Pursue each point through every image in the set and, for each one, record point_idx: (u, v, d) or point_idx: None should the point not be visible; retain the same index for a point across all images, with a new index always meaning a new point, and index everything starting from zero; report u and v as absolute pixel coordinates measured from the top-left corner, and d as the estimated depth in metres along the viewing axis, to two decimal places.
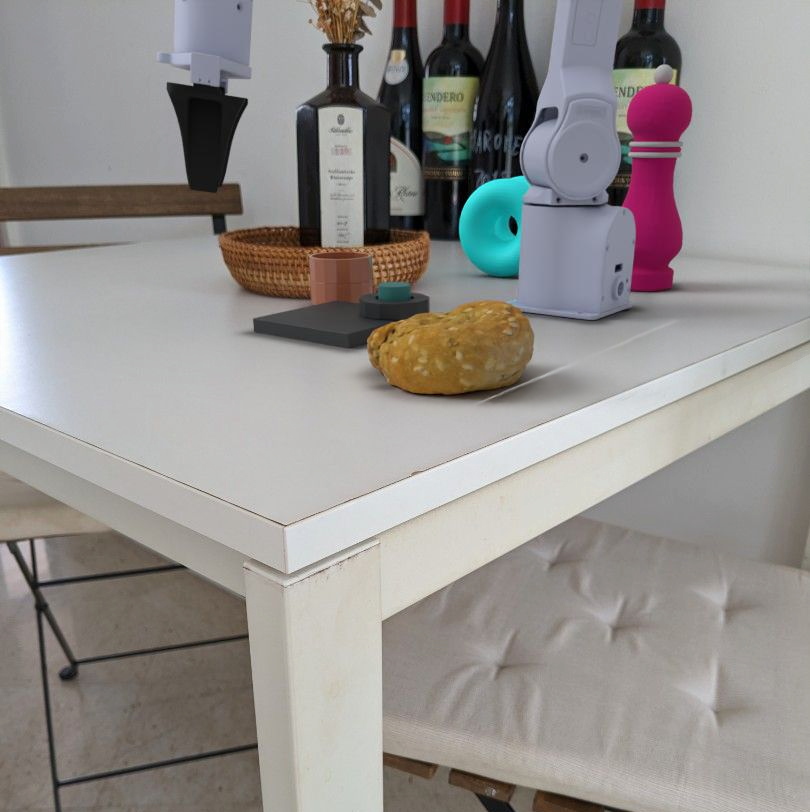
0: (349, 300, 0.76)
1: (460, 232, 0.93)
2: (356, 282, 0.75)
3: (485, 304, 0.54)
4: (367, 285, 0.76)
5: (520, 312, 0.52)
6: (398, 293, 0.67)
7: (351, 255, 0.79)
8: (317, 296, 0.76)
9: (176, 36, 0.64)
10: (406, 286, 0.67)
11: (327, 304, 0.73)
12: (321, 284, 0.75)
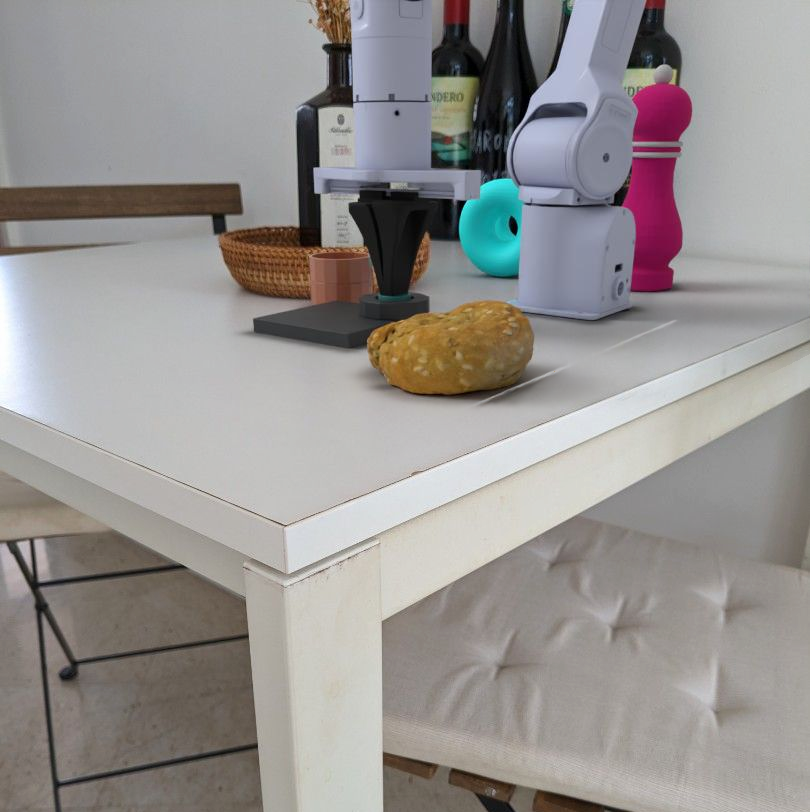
0: (349, 300, 0.76)
1: (460, 232, 0.93)
2: (356, 282, 0.75)
3: (485, 304, 0.54)
4: (367, 285, 0.76)
5: (520, 312, 0.52)
6: None
7: (351, 255, 0.79)
8: (317, 296, 0.76)
9: (383, 152, 0.61)
10: (406, 296, 0.68)
11: (327, 304, 0.73)
12: (321, 284, 0.75)
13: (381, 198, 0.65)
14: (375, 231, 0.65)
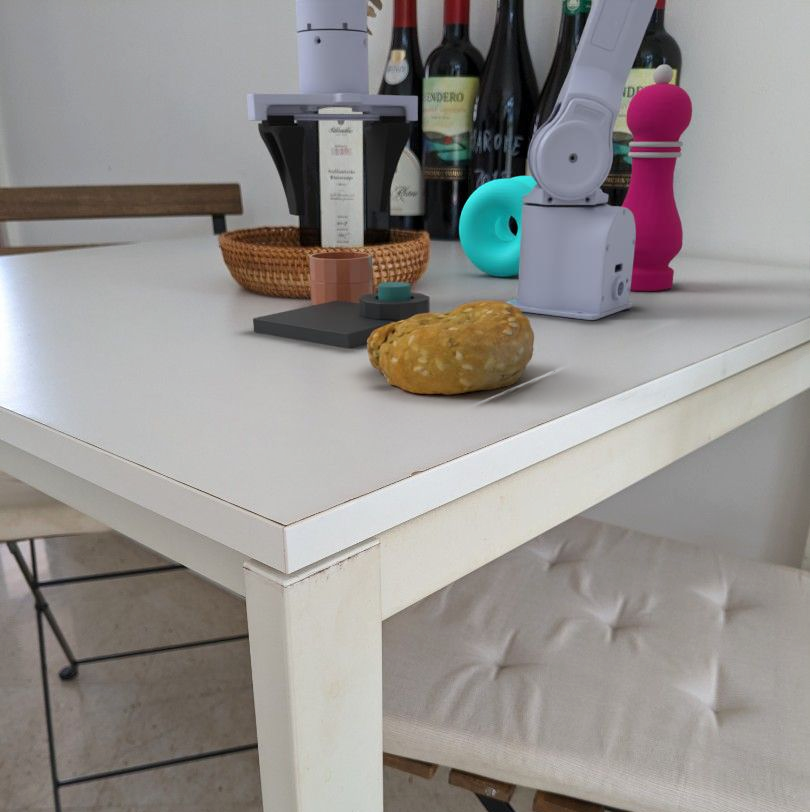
0: (349, 300, 0.76)
1: (460, 232, 0.93)
2: (356, 282, 0.75)
3: (485, 304, 0.54)
4: (367, 285, 0.76)
5: (520, 312, 0.52)
6: (398, 293, 0.67)
7: (351, 255, 0.79)
8: (317, 296, 0.76)
9: (359, 77, 0.69)
10: (406, 286, 0.67)
11: (327, 304, 0.73)
12: (321, 284, 0.75)
13: (294, 122, 0.70)
14: (302, 152, 0.70)
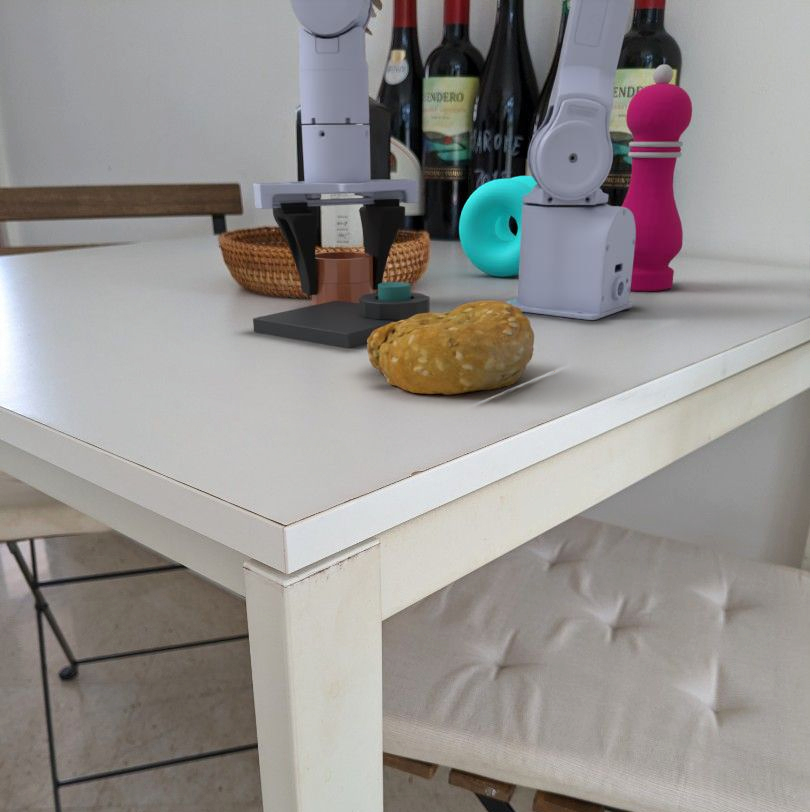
0: (349, 300, 0.76)
1: (460, 232, 0.93)
2: (356, 282, 0.75)
3: (485, 304, 0.54)
4: (367, 285, 0.76)
5: (520, 312, 0.52)
6: (398, 293, 0.67)
7: (351, 255, 0.79)
8: (317, 296, 0.76)
9: (361, 167, 0.72)
10: (406, 286, 0.67)
11: (327, 304, 0.73)
12: (321, 284, 0.75)
13: (307, 208, 0.73)
14: (315, 238, 0.73)
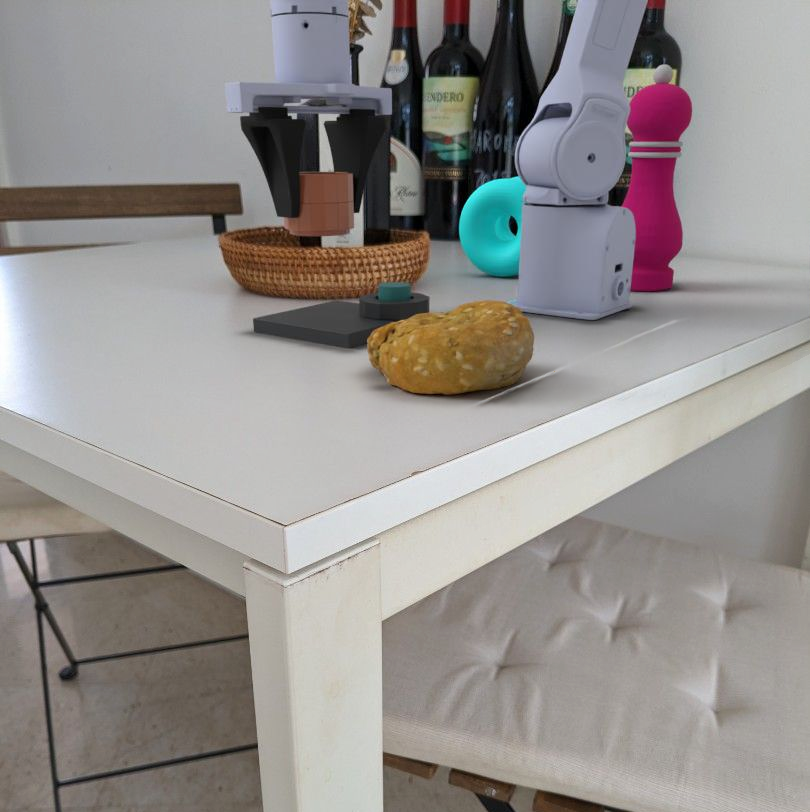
0: (337, 222, 0.67)
1: (460, 232, 0.93)
2: (344, 201, 0.67)
3: (485, 304, 0.54)
4: (352, 206, 0.68)
5: (520, 312, 0.52)
6: (398, 293, 0.67)
7: None
8: (299, 219, 0.67)
9: (346, 67, 0.64)
10: (406, 286, 0.67)
11: (327, 304, 0.73)
12: (305, 204, 0.66)
13: None
14: (300, 148, 0.64)
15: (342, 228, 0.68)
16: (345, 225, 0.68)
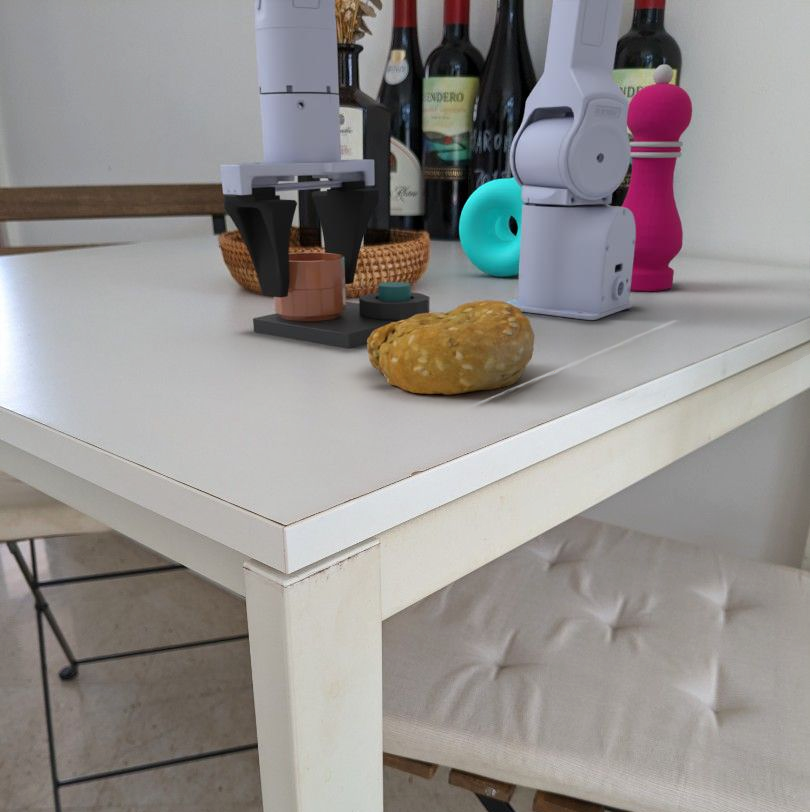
0: (333, 306, 0.66)
1: (460, 232, 0.93)
2: (338, 285, 0.66)
3: (485, 304, 0.54)
4: (344, 288, 0.67)
5: (520, 312, 0.52)
6: (398, 293, 0.67)
7: (306, 256, 0.69)
8: (294, 305, 0.66)
9: (339, 144, 0.63)
10: (406, 286, 0.67)
11: None
12: (300, 291, 0.65)
13: (275, 194, 0.61)
14: (290, 228, 0.62)
15: (337, 312, 0.67)
16: (339, 309, 0.67)
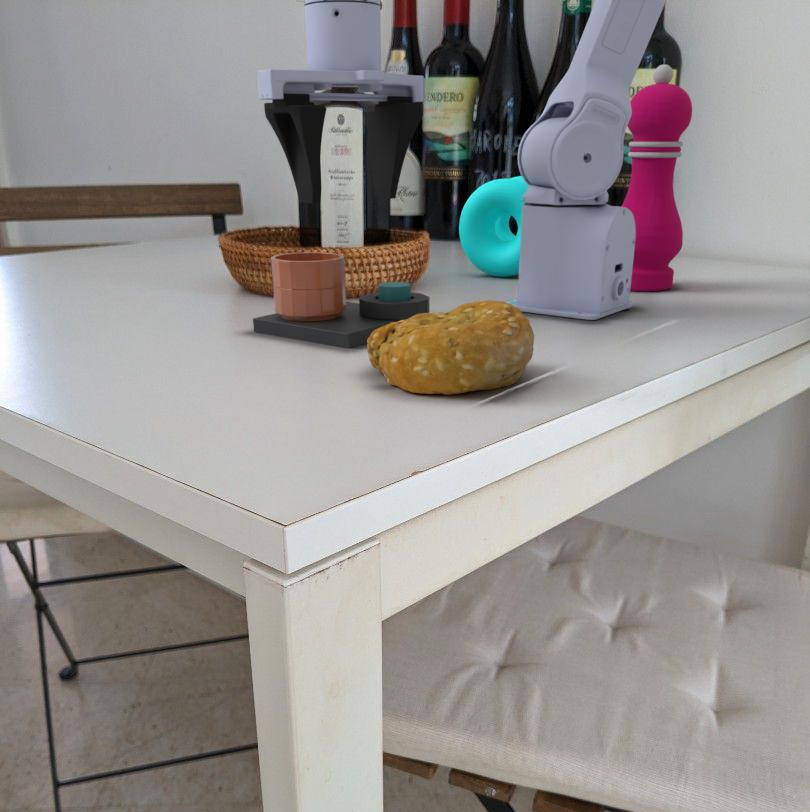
0: (333, 306, 0.66)
1: (460, 232, 0.93)
2: (338, 285, 0.66)
3: (485, 304, 0.54)
4: (344, 288, 0.67)
5: (520, 312, 0.52)
6: (398, 293, 0.67)
7: (306, 256, 0.69)
8: (294, 305, 0.66)
9: (376, 54, 0.65)
10: (406, 286, 0.67)
11: None
12: (300, 291, 0.65)
13: None
14: (321, 134, 0.65)
15: (337, 312, 0.67)
16: (339, 309, 0.67)
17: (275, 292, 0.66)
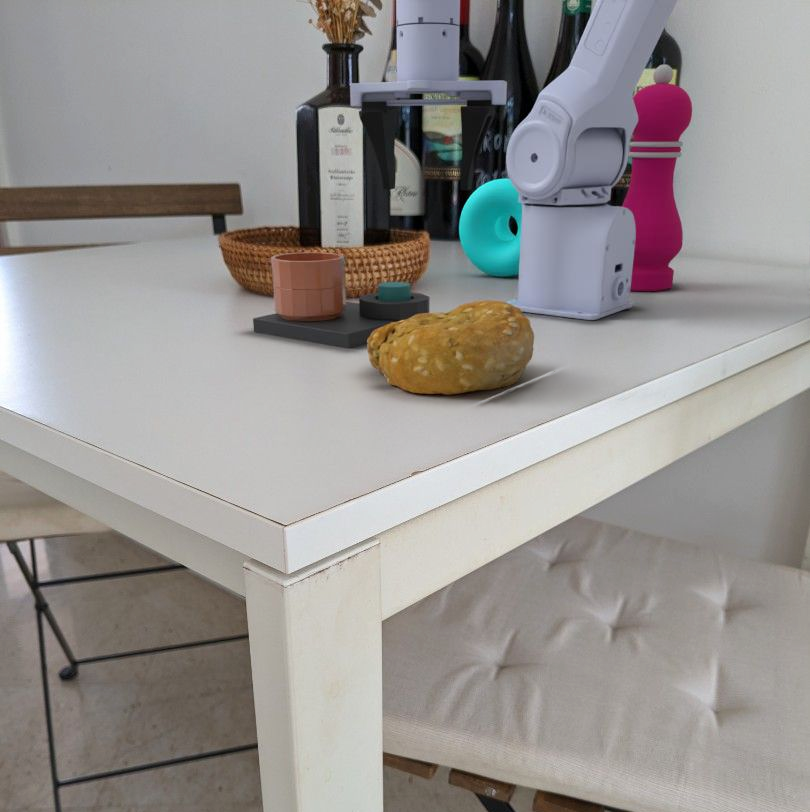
0: (333, 306, 0.66)
1: (460, 232, 0.93)
2: (338, 285, 0.66)
3: (485, 304, 0.54)
4: (344, 288, 0.67)
5: (520, 312, 0.52)
6: (398, 293, 0.67)
7: (306, 256, 0.69)
8: (294, 305, 0.66)
9: (434, 65, 0.76)
10: (406, 286, 0.67)
11: None
12: (300, 291, 0.65)
13: (384, 107, 0.80)
14: (384, 134, 0.80)
15: (337, 312, 0.67)
16: (339, 309, 0.67)
17: (275, 292, 0.66)
